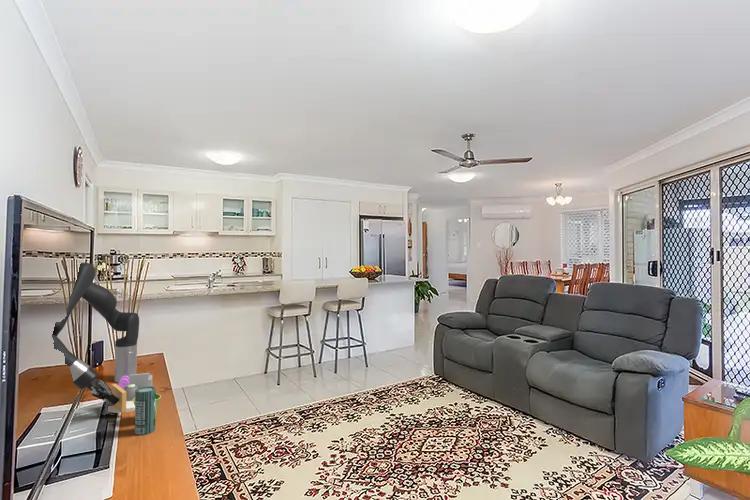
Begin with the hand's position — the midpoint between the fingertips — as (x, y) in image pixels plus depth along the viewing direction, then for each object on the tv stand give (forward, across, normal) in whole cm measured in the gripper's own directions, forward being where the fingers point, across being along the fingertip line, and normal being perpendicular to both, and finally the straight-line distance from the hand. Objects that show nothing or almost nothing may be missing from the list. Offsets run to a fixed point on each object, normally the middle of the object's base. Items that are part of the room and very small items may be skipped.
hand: (116, 402), depth 157 cm
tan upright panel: (+2, +5, +3) cm, 6 cm away
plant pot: (+11, -10, -4) cm, 15 cm away
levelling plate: (+6, +12, +1) cm, 14 cm away
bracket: (+7, +28, +1) cm, 29 cm away
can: (+11, -20, -4) cm, 23 cm away
